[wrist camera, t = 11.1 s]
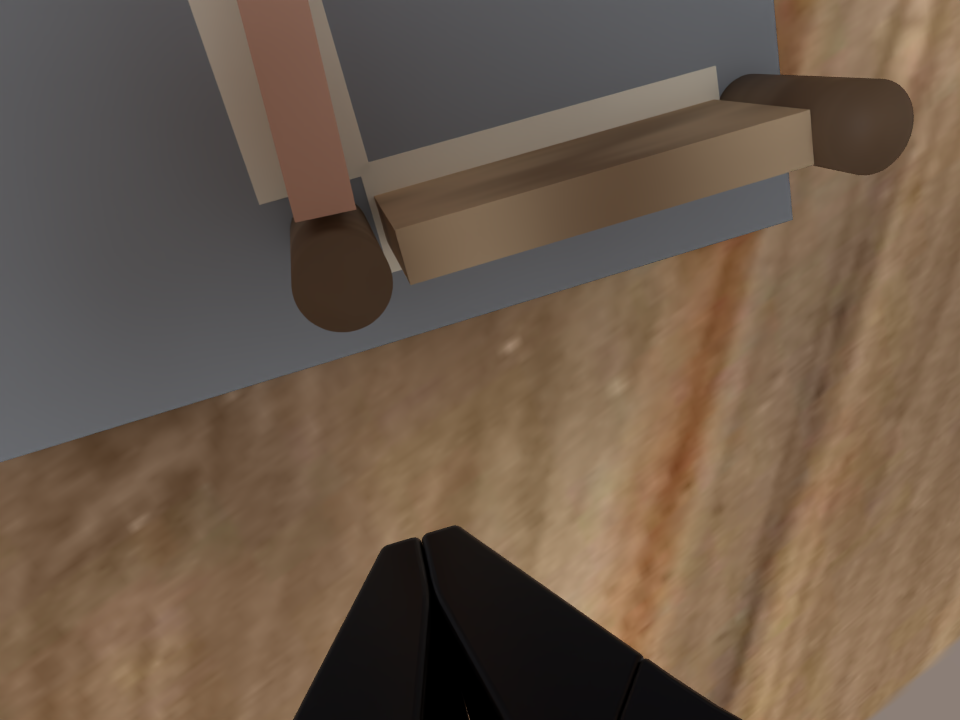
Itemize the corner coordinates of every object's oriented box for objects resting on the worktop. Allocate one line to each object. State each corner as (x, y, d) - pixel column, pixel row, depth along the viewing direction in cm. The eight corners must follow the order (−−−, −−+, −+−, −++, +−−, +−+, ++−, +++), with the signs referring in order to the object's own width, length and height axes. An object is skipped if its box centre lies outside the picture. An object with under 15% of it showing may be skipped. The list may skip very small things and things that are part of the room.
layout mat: (717, -490, 16) (730, -507, 16) (782, 216, 22) (793, 219, 21) (-557, -242, 14) (-590, -254, 13) (-109, 487, 19) (-120, 499, 19)
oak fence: (779, 65, 20) (912, 67, 16) (785, 139, 20) (914, 161, 16) (279, 206, 18) (277, 250, 14) (304, 280, 19) (309, 344, 15)
